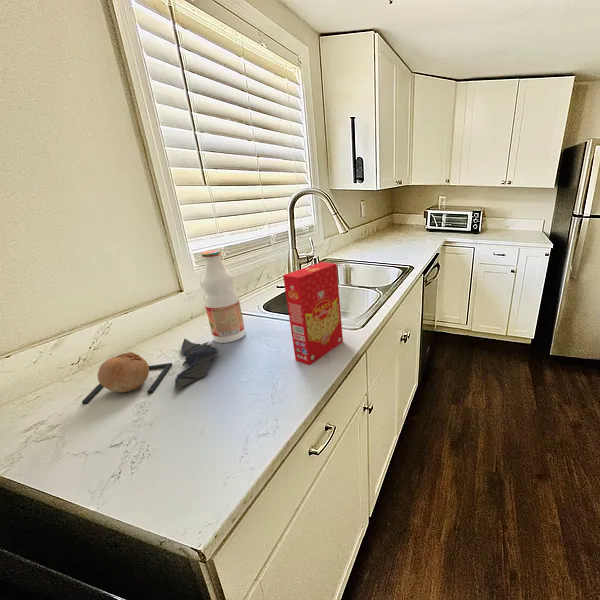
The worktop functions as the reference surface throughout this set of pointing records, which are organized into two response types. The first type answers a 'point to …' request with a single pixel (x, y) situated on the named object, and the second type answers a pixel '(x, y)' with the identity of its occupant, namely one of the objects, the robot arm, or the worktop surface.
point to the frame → (150, 391)
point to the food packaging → (314, 311)
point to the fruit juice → (221, 299)
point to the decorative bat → (195, 362)
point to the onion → (123, 372)
